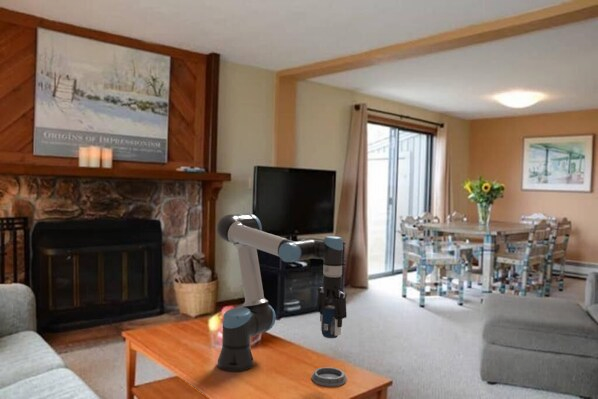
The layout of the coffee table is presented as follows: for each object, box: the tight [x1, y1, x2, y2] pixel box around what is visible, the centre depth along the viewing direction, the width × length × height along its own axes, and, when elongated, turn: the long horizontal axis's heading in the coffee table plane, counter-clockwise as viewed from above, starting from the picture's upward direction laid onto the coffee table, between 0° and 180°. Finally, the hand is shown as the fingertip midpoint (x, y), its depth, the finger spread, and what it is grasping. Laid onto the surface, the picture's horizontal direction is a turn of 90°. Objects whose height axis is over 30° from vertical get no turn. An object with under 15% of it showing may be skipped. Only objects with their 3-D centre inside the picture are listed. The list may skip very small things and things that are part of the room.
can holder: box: [311, 366, 348, 388], centre depth 192 cm, size 14×14×3 cm
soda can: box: [321, 304, 340, 339], centre depth 191 cm, size 7×7×12 cm
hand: (330, 332), depth 191 cm, fingers closed on soda can, 7 cm apart
